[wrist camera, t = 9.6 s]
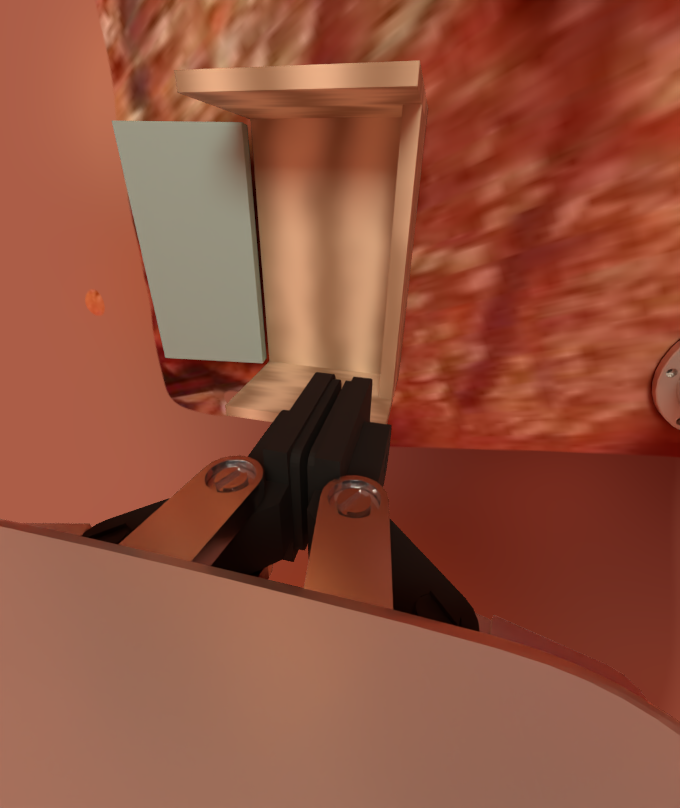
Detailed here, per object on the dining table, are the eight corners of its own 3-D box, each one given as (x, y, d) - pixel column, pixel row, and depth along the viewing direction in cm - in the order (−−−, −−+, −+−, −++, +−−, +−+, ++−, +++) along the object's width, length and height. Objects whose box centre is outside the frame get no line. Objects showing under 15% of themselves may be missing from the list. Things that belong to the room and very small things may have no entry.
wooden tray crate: (428, 107, 30) (419, 60, 19) (399, 373, 42) (383, 438, 31) (264, 110, 33) (174, 70, 22) (280, 359, 44) (226, 415, 33)
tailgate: (241, 122, 30) (111, 120, 30) (262, 363, 40) (165, 357, 41) (249, 126, 31) (126, 124, 32) (267, 355, 42) (174, 350, 43)
